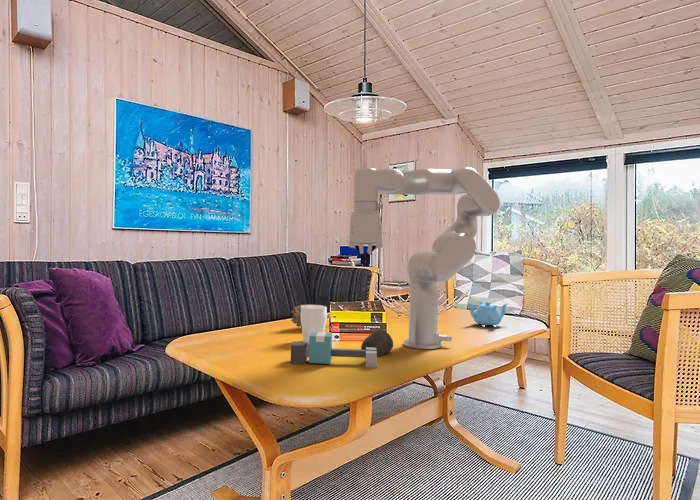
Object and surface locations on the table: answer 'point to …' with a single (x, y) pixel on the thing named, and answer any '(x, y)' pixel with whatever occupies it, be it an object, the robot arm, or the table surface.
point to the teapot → (487, 313)
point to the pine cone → (297, 313)
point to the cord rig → (333, 354)
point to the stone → (379, 342)
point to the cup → (312, 320)
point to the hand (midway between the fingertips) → (365, 266)
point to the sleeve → (320, 347)
